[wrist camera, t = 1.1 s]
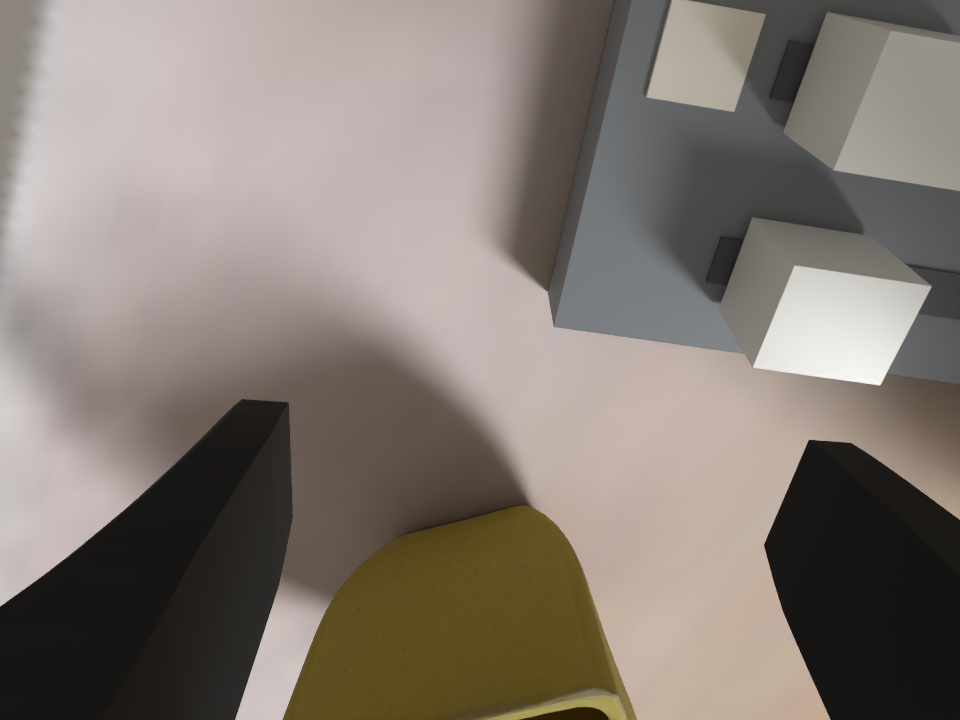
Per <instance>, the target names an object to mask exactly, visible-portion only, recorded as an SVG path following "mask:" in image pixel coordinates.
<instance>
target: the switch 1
mask: <svg viewBox="0 0 960 720" xmlns="http://www.w3.org/2000/svg"><path fill="white" fill-rule="evenodd" d="M783 133H784V134H785V135H786V136H788V137H789V138H790V139H792V140H793V141H795V142H796V143H797V144H799V145H800V146H801V147H803V148H804V149H805V150H807V151H808V152H809V153H811V154H812V155H813V156H815V157H816V158H817V159H819V160H820V161H822V162H823V163H824V164H826V165H827V166H828V167H830V168H831V169H832V170H834V171H840V172H846V173H852V174H859V175H865V176H871V177H877V178H883V179H889V180H895V181H901V182H907V183H914V184H920V185H926V186H932V187H938V188H944V189H950V190H956V191H960V36H958V35H952V34H947V33H941V32H935V31H930V30H924V29H919V28H913V27H908V26H902V25H897V24H891V23H886V22H880V21H875V20H869V19H864V18H858V17H853V16H847V15H842V14H836V13H831V12H827V14H826V16H825V19H824V22H823V25H822V27H821V30H820V33H819V36H818V38H817V41H816V44H815V46H814V49H813V52H812V55H811V57H810V60H809V63H808V66H807V68H806V71H805V74H804V77H803V79H802V82H801V85H800V88H799V90H798V93H797V96H796V99H795V101H794V104H793V107H792V110H791V112H790V115H789V118H788V121H787V123H786V126H785V129H784V132H783Z"/></svg>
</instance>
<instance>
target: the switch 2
mask: <svg viewBox="0 0 960 720" xmlns="http://www.w3.org/2000/svg"><path fill="white" fill-rule="evenodd" d="M931 287H932V286H931V285H930V284H929V283H927V282H926V281H925V280H924V279H923V278H921V277H920V276H919V275H918V274H917V273H915V272H914V271H913V270H912V269H911V268H909V267H908V266H907V265H906V264H905V263H903V262H902V261H901V260H900V259H899V258H897V257H896V256H895V255H894V254H893V253H892V252H890V251H889V250H888V249H887V248H886V247H884V246H883V245H882V244H881V243H880V242H878V241H877V240H876V239H875V238H874V237H872V236H869V235H863V234H856V233H850V232H843V231H837V230H831V229H824V228H818V227H812V226H805V225H799V224H792V223H786V222H780V221H773V220H767V219H761V218H754V217H752V219H751V222H750V225H749V228H748V230H747V233H746V236H745V239H744V241H743V244H742V247H741V250H740V252H739V255H738V258H737V260H736V263H735V266H734V269H733V271H732V274H731V277H730V280H729V282H728V285H727V288H726V291H725V293H724V296H723V299H722V302H721V304H720V307H719V311H720V313H721V315H722V316H723V318H724V320H725V322H726V323H727V325H728V327H729V328H730V330H731V332H732V333H733V335H734V337H735V338H736V340H737V342H738V343H739V345H740V347H741V349H742V350H743V352H744V354H745V355H746V357H747V359H748V360H749V362H750V364H751V365H752V367H753V368H759V369H766V370H773V371H781V372H788V373H795V374H802V375H809V376H816V377H823V378H831V379H838V380H845V381H852V382H859V383H866V384H873V385H881V383H882V381H883V379H884V377H885V375H886V373H887V371H888V369H889V368H890V366H891V364H892V362H893V360H894V358H895V356H896V354H897V352H898V350H899V348H900V346H901V345H902V343H903V341H904V339H905V337H906V335H907V333H908V331H909V329H910V327H911V325H912V323H913V322H914V320H915V318H916V316H917V314H918V312H919V310H920V308H921V306H922V304H923V302H924V300H925V299H926V297H927V295H928V293H929V291H930V289H931Z"/></svg>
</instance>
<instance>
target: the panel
mask: <svg viewBox="0 0 960 720" xmlns="http://www.w3.org/2000/svg"><path fill="white" fill-rule="evenodd" d="M827 12H831V13H836V14H842V15H847V16H853V17H858V18H864V19H869V20H875V21H880V22H886V23H891V24H897V25H902V26H908V27H913V28H919V29H924V30H930V31H935V32H941V33H947V34H952V35H958V36H960V0H615V2H614V6H613V11H612V15H611V19H610V24H609V28H608V33H607V37H606V41H605V46H604V50H603V55H602V59H601V63H600V68H599V72H598V76H597V81H596V85H595V90H594V94H593V98H592V103H591V107H590V111H589V116H588V120H587V125H586V129H585V133H584V138H583V142H582V146H581V151H580V155H579V160H578V164H577V168H576V173H575V177H574V181H573V186H572V190H571V195H570V199H569V203H568V208H567V212H566V216H565V221H564V225H563V230H562V234H561V238H560V243H559V247H558V252H557V256H556V260H555V265H554V269H553V273H552V278H551V282H550V287H549V291H548V296H549V302H550V307H551V313H552V319H553V325H554V327H559V328H566V329H573V330H580V331H587V332H594V333H601V334H608V335H615V336H622V337H629V338H636V339H644V340H651V341H658V342H665V343H672V344H679V345H686V346H693V347H700V348H707V349H714V350H721V351H728V352H735V353H742V354H744V352H743V350H742V349H741V347H740V345H739V343H738V342H737V340H736V338H735V337H734V335H733V333H732V332H731V330H730V328H729V327H728V325H727V323H726V322H725V320H724V318H723V316H722V315H721V313H720V311H719V307H720V304H721V302H722V299H723V296H724V293H725V291H726V288H727V285H728V282H729V280H730V277H731V274H732V271H733V269H734V266H735V263H736V260H737V258H738V255H739V252H740V250H741V247H742V244H743V241H744V239H745V236H746V233H747V230H748V228H749V225H750V222H751V219H752V217H754V218H761V219H767V220H773V221H780V222H786V223H792V224H799V225H805V226H812V227H818V228H824V229H831V230H837V231H843V232H850V233H856V234H863V235H869V236H872V237H874V238H875V239H876V240H877V241H878V242H880V243H881V244H882V245H883V246H884V247H886V248H887V249H888V250H889V251H890V252H892V253H893V254H894V255H895V256H896V257H897V258H899V259H900V260H901V261H902V262H903V263H905V264H906V265H907V266H908V267H909V268H911V269H912V270H913V271H914V272H915V273H917V274H918V275H919V276H920V277H921V278H923V279H924V280H925V281H926V282H927V283H929V284H930V285H931V286H932V287H931V289H930V291H929V293H928V295H927V297H926V299H925V300H924V302H923V304H922V306H921V308H920V310H919V312H918V314H917V316H916V318H915V320H914V322H913V323H912V325H911V327H910V329H909V331H908V333H907V335H906V337H905V339H904V341H903V343H902V345H901V346H900V348H899V350H898V352H897V354H896V356H895V358H894V360H893V362H892V364H891V366H890V368H889V369H888V371H887V373H886V374H891V375H898V376H905V377H912V378H919V379H926V380H933V381H940V382H947V383H954V384H960V191H956V190H950V189H944V188H938V187H932V186H926V185H920V184H914V183H907V182H901V181H895V180H889V179H883V178H877V177H871V176H865V175H859V174H852V173H846V172H840V171H834V170H832V169H831V168H830V167H828V166H827V165H826V164H824V163H823V162H822V161H820V160H819V159H817V158H816V157H815V156H813V155H812V154H811V153H809V152H808V151H807V150H805V149H804V148H803V147H801V146H800V145H799V144H797V143H796V142H795V141H793V140H792V139H790V138H789V137H788V136H786V135H785V134H784V133H783V132H784V129H785V126H786V123H787V121H788V118H789V115H790V112H791V110H792V107H793V104H794V101H795V99H796V96H797V93H798V90H799V88H800V85H801V82H802V79H803V77H804V74H805V71H806V68H807V66H808V63H809V60H810V57H811V55H812V52H813V49H814V46H815V44H816V41H817V38H818V36H819V33H820V30H821V27H822V25H823V22H824V19H825V16H826V14H827Z"/></svg>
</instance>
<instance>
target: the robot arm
mask: <svg viewBox="0 0 960 720" xmlns="http://www.w3.org/2000/svg"><path fill="white" fill-rule="evenodd" d="M292 517H293V515H292V485H291V456H290V426H289V403H288V402H274V401H260V400H246V399H242V400H241V401H239V402H238V403H237V404H236V405H234V406H233V407H232V408H231V409H230V410H229V411H228V412H227V413H226V414H225V415H224V416H223V417H222V418H221V419H220V420H219V421H218V422H217V423H216V424H215V425H214V426H213V427H212V428H211V429H210V430H209V431H208V432H207V433H206V434H205V435H204V436H203V437H202V438H201V439H200V440H199V441H198V442H197V443H196V444H195V445H194V446H193V447H192V448H191V449H190V450H189V451H188V452H187V453H186V454H185V455H184V456H183V457H182V458H181V459H180V460H179V461H178V462H177V463H176V464H175V465H173V466H172V467H171V468H170V469H169V470H168V471H167V472H166V473H165V474H164V475H163V476H161V477H160V478H159V479H158V480H157V481H156V482H155V483H154V484H153V485H152V486H151V487H150V488H148V489H147V490H146V491H145V492H144V493H143V494H142V495H141V496H140V497H139V498H138V499H136V500H135V501H134V502H133V503H132V504H131V505H130V506H129V507H127V508H126V509H125V510H124V511H123V512H121V513H120V514H119V515H118V516H117V517H115V518H114V519H113V520H112V521H111V522H109V523H108V524H107V525H106V526H105V527H103V528H102V529H101V530H100V531H99V532H97V533H96V534H95V535H94V536H93V537H91V538H90V539H89V540H88V541H87V542H85V543H84V544H83V545H82V546H81V547H79V548H78V549H77V550H76V551H74V552H73V553H72V554H71V555H69V556H68V557H67V558H66V559H64V560H63V561H62V562H60V563H59V564H58V565H56V566H55V567H54V568H53V569H51V570H50V571H49V572H47V573H46V574H45V575H43V576H42V577H41V578H39V579H38V580H37V581H35V582H34V583H33V584H31V585H30V586H28V587H27V588H26V589H24V590H23V591H21V592H20V593H19V594H17V595H16V596H14V597H13V598H12V599H10V600H9V601H7V602H6V603H5V604H3V605H2V606H0V720H235V718H236V715H237V712H238V709H239V706H240V703H241V700H242V697H243V694H244V691H245V688H246V685H247V682H248V678H249V675H250V672H251V669H252V666H253V663H254V660H255V657H256V654H257V651H258V648H259V645H260V642H261V639H262V636H263V633H264V630H265V627H266V623H267V620H268V617H269V614H270V611H271V608H272V605H273V602H274V599H275V595H276V592H277V589H278V586H279V582H280V577H281V572H282V567H283V563H284V558H285V553H286V548H287V543H288V538H289V532H290V527H291V522H292ZM764 546H765V550H766V554H767V558H768V561H769V565H770V569H771V573H772V577H773V580H774V584H775V587H776V590H777V593H778V597H779V600H780V603H781V606H782V610H783V612H784V615H785V617H786V620H787V622H788V624H789V627H790V629H791V631H792V634H793V636H794V638H795V641H796V643H797V645H798V647H799V650H800V652H801V654H802V657H803V659H804V661H805V663H806V666H807V668H808V670H809V672H810V675H811V677H812V679H813V681H814V684H815V686H816V688H817V690H818V693H819V695H820V697H821V699H822V701H823V704H824V706H825V708H826V710H827V713H828V715H829V717H830V719H831V720H960V520H959V519H958V518H956V517H955V516H954V515H952V514H951V513H950V512H948V511H947V510H946V509H944V508H943V507H942V506H940V505H939V504H937V503H936V502H935V501H933V500H932V499H931V498H929V497H928V496H927V495H925V494H924V493H923V492H921V491H920V490H918V489H917V488H916V487H914V486H913V485H912V484H910V483H909V482H908V481H906V480H905V479H903V478H902V477H901V476H899V475H898V474H896V473H895V472H894V471H892V470H891V469H889V468H888V467H887V466H885V465H884V464H882V463H881V462H879V461H878V460H877V459H875V458H874V457H872V456H871V455H869V454H868V453H866V452H865V451H863V450H861V449H860V448H858V447H856V446H855V445H853V444H852V443H844V442H830V441H816V440H809V441H808V444H807V446H806V448H805V451H804V453H803V455H802V458H801V460H800V462H799V465H798V467H797V469H796V472H795V474H794V476H793V479H792V481H791V483H790V486H789V488H788V490H787V493H786V495H785V497H784V500H783V502H782V504H781V507H780V509H779V511H778V514H777V516H776V518H775V521H774V523H773V525H772V528H771V530H770V532H769V535H768V537H767V539H766V542H765V544H764Z"/></svg>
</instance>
